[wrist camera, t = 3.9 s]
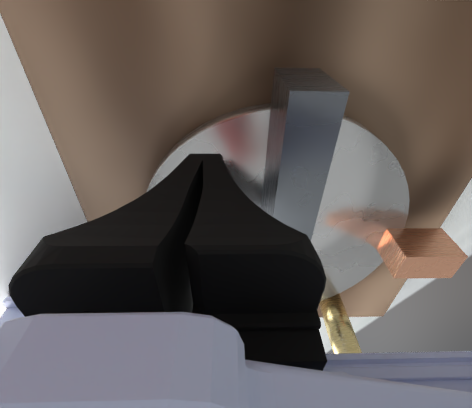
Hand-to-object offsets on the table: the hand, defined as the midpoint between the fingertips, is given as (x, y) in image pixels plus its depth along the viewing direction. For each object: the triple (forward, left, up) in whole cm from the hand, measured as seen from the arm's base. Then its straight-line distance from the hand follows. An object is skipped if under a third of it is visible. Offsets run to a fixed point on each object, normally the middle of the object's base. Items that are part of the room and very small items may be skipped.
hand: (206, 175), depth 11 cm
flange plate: (+4, -4, -2) cm, 6 cm away
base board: (+3, -5, -4) cm, 7 cm away
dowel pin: (+8, -11, -2) cm, 14 cm away
